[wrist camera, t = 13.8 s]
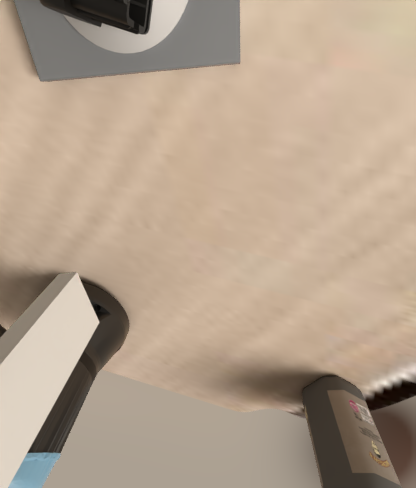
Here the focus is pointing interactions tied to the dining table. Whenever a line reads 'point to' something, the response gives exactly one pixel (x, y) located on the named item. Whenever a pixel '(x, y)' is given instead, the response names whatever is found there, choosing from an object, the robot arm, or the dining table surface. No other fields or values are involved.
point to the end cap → (107, 12)
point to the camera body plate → (132, 40)
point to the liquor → (345, 437)
